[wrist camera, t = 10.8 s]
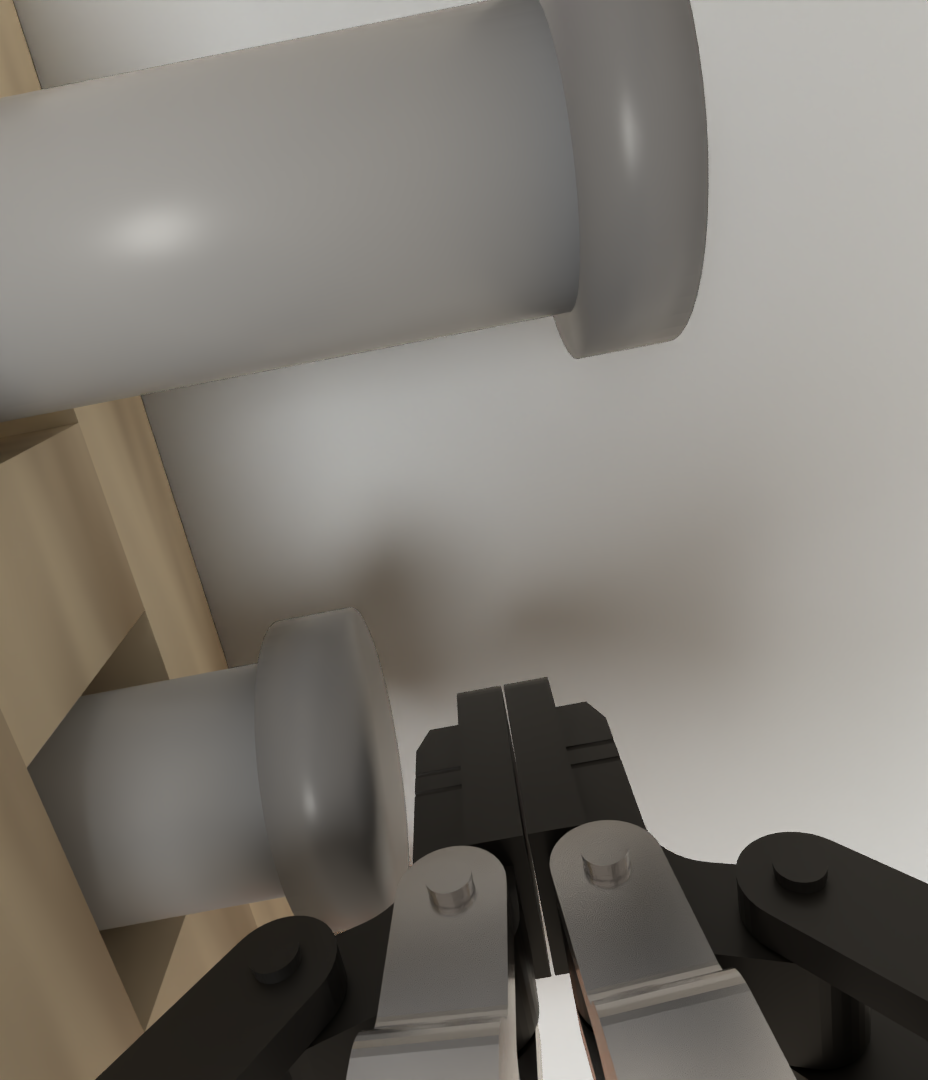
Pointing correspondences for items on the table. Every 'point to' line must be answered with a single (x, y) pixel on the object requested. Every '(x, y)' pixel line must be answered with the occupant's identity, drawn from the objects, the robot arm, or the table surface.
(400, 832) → the grey dowel
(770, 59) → the table surface
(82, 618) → the socket rail
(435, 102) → the grey dowel
